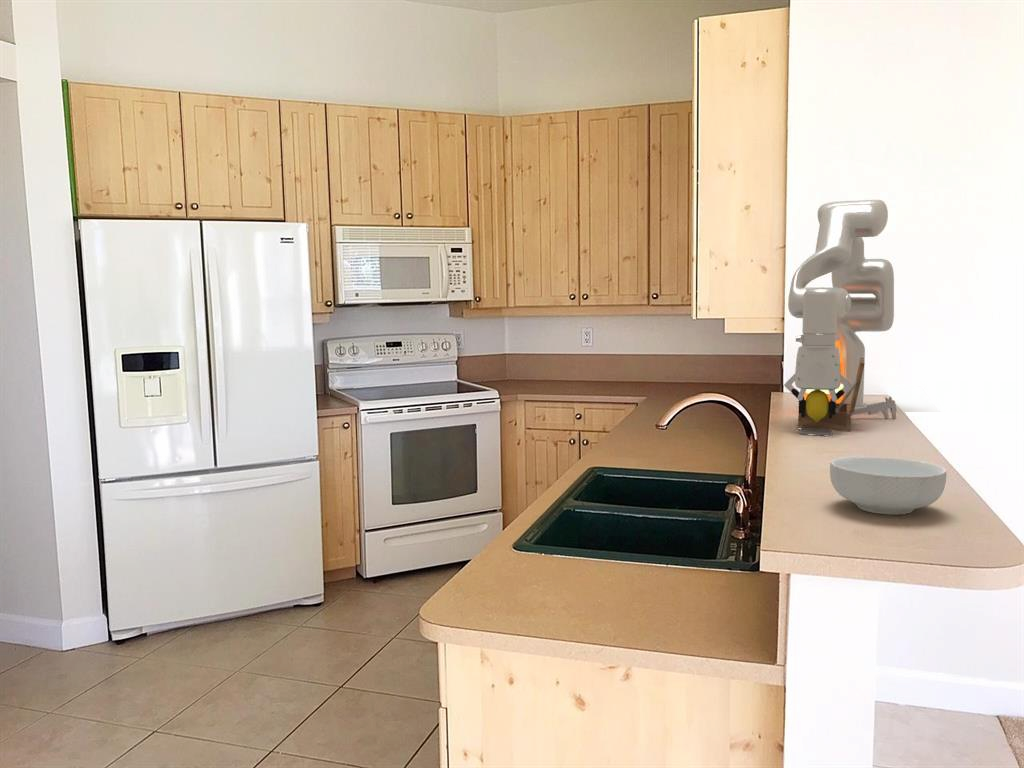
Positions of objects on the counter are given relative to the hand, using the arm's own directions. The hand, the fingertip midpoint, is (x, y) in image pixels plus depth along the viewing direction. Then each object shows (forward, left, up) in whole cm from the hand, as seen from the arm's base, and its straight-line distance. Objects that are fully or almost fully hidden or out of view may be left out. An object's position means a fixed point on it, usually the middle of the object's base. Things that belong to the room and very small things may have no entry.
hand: (816, 416), depth 210 cm
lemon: (0, 0, -1) cm, 1 cm away
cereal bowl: (+73, +13, -4) cm, 74 cm away
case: (-14, +3, -4) cm, 15 cm away
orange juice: (-35, 0, -4) cm, 35 cm away
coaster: (0, 0, -4) cm, 4 cm away
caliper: (-27, +9, -4) cm, 29 cm away
